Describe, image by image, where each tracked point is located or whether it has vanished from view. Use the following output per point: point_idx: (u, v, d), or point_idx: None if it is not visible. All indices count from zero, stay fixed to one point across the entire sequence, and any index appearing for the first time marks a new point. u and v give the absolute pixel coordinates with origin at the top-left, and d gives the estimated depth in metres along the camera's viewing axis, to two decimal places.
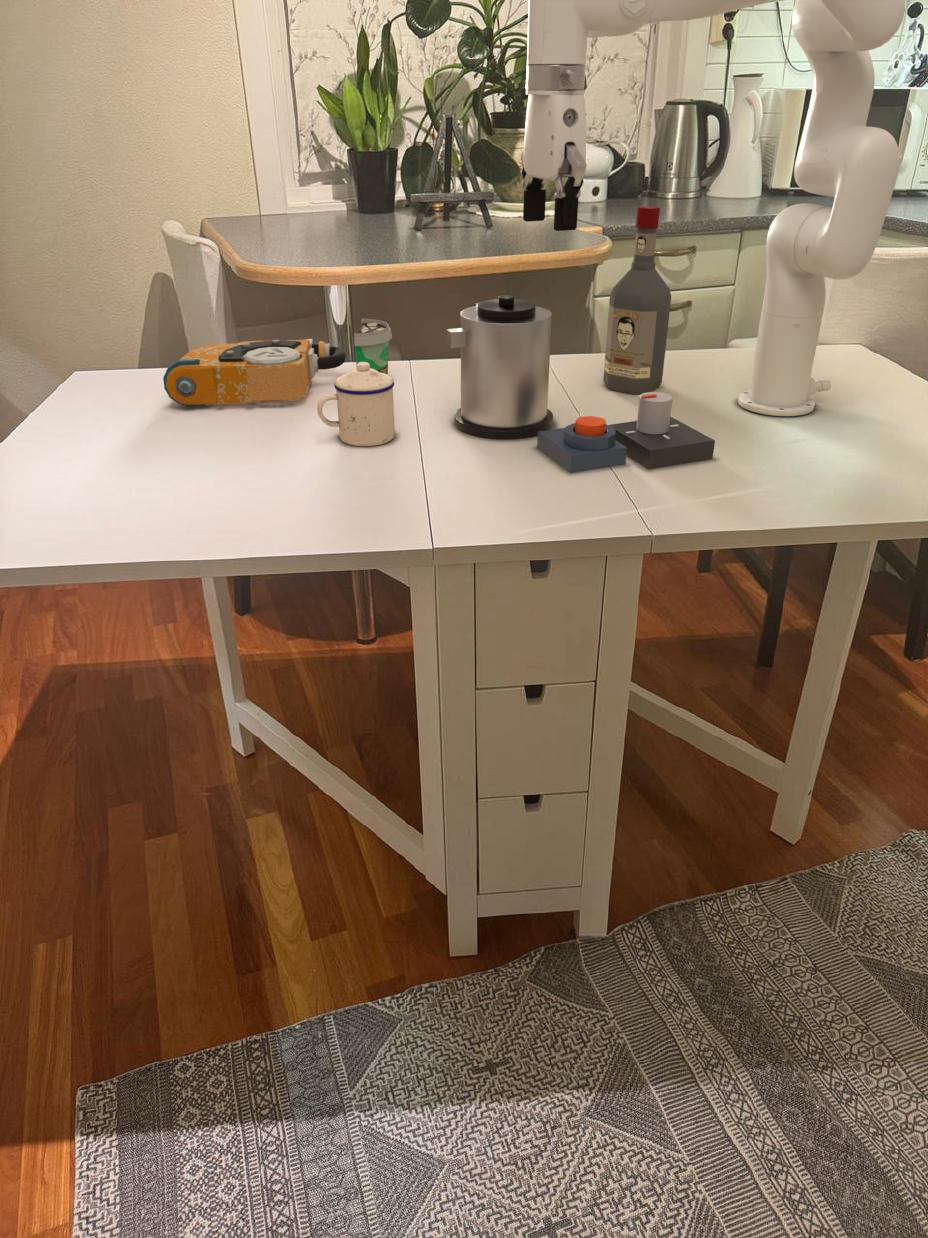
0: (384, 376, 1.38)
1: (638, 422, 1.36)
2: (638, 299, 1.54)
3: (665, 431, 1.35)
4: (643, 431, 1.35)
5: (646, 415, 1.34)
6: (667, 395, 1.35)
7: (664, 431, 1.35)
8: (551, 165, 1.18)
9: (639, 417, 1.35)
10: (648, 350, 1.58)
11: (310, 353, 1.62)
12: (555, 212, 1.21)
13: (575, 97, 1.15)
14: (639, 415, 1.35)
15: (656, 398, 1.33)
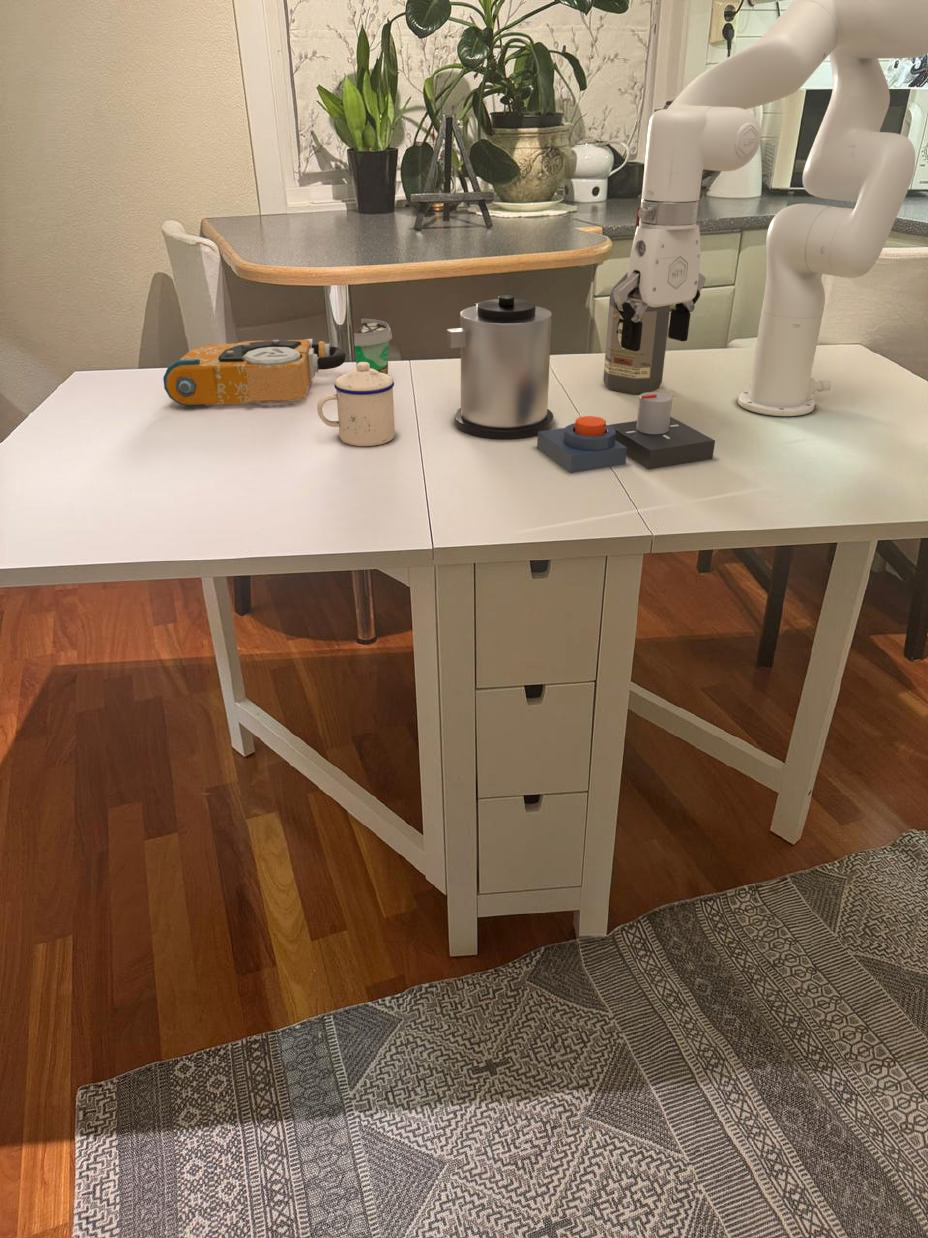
0: (384, 376, 1.38)
1: (638, 422, 1.36)
2: None
3: (665, 431, 1.35)
4: (643, 431, 1.35)
5: (646, 415, 1.34)
6: (667, 395, 1.35)
7: (664, 431, 1.35)
8: None
9: (639, 417, 1.35)
10: (648, 350, 1.58)
11: (310, 353, 1.62)
12: (623, 330, 1.28)
13: (647, 231, 1.20)
14: (639, 415, 1.35)
15: (656, 398, 1.33)
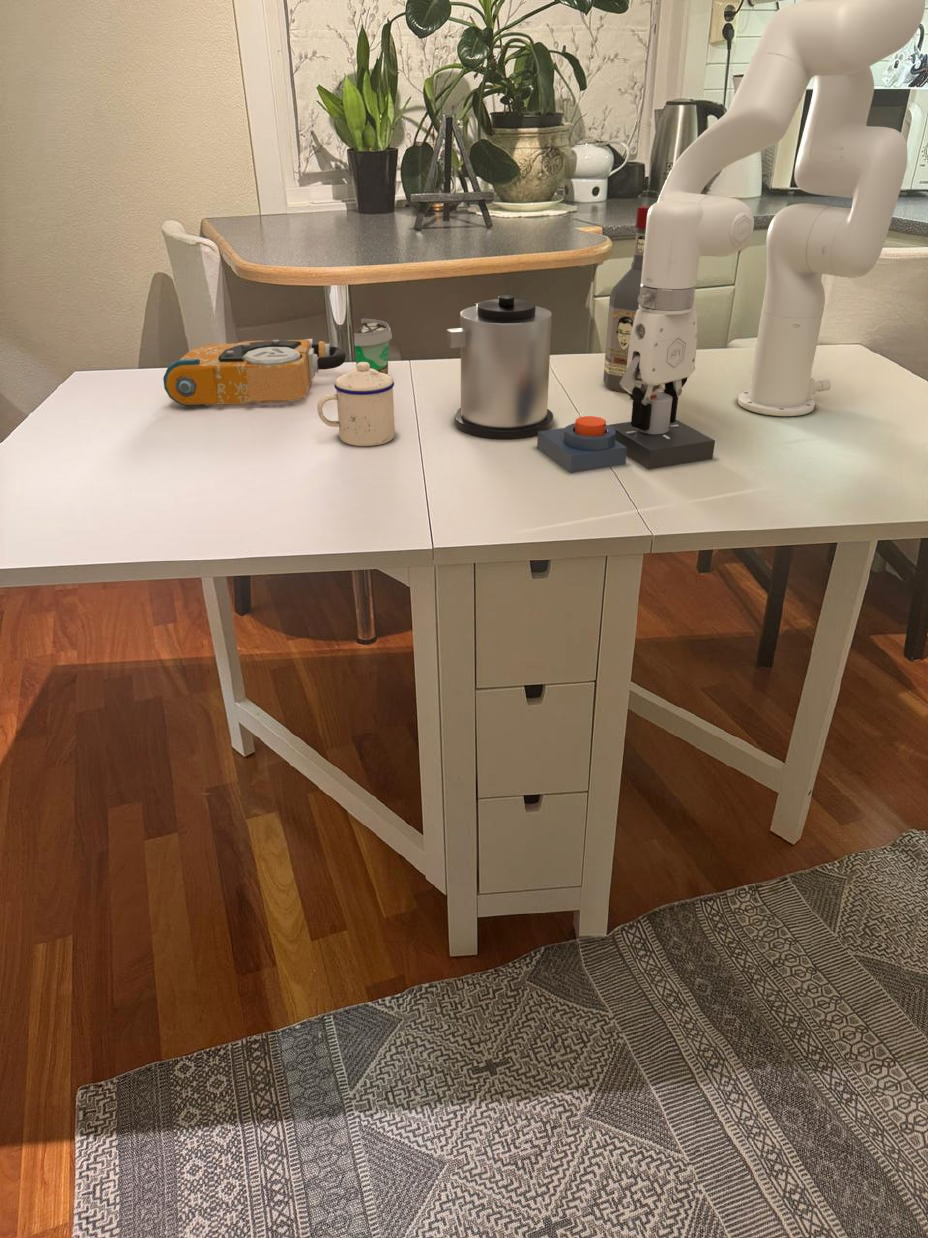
0: (384, 376, 1.38)
1: None
2: None
3: (665, 431, 1.35)
4: (643, 431, 1.35)
5: None
6: (667, 395, 1.35)
7: (664, 431, 1.35)
8: None
9: None
10: None
11: (310, 353, 1.62)
12: (633, 410, 1.35)
13: (646, 316, 1.25)
14: None
15: (656, 398, 1.33)
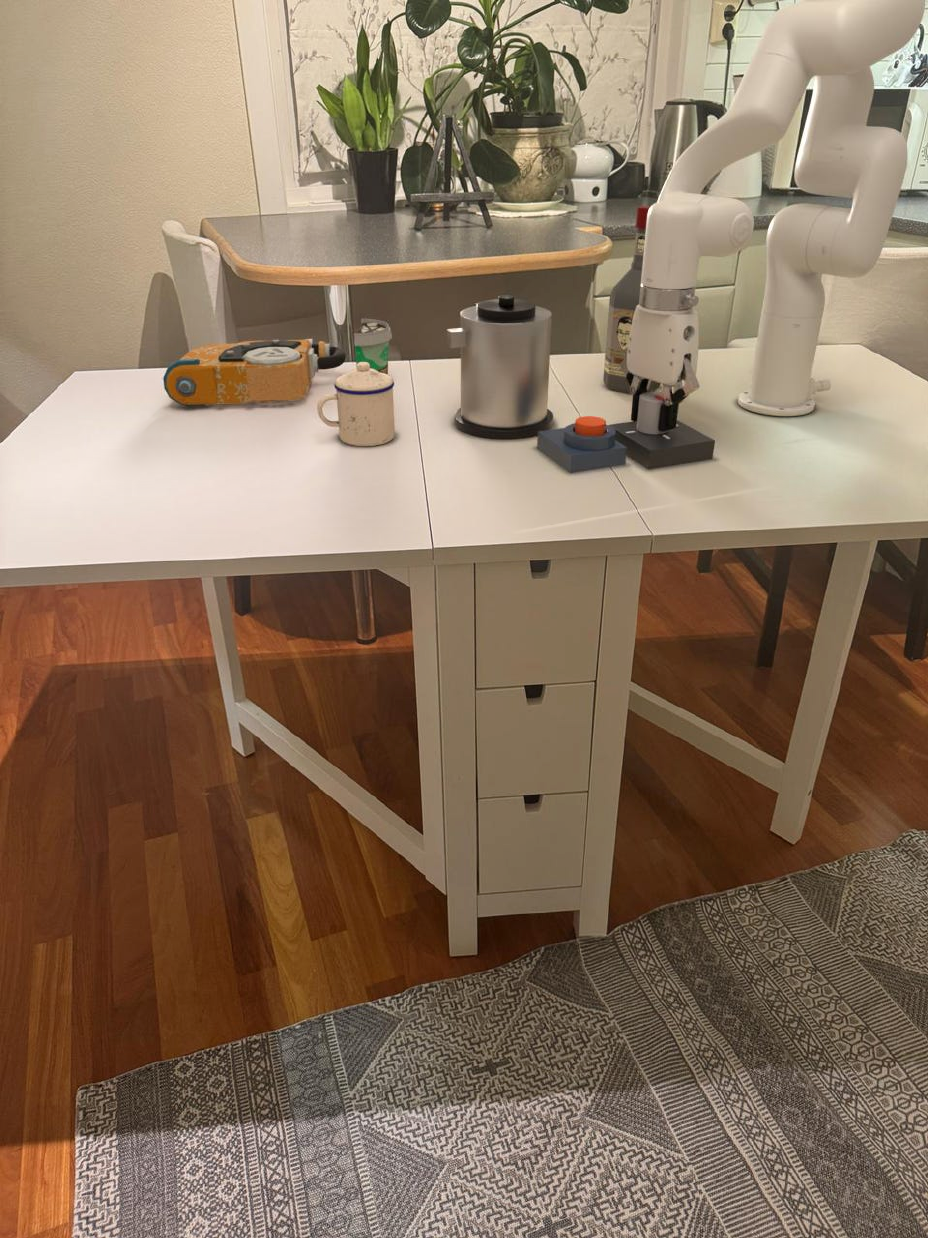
0: (384, 376, 1.38)
1: None
2: (638, 299, 1.54)
3: None
4: (666, 431, 1.35)
5: None
6: (650, 392, 1.36)
7: None
8: (670, 374, 1.28)
9: None
10: None
11: (310, 353, 1.62)
12: (661, 416, 1.33)
13: (693, 316, 1.25)
14: None
15: (663, 396, 1.34)
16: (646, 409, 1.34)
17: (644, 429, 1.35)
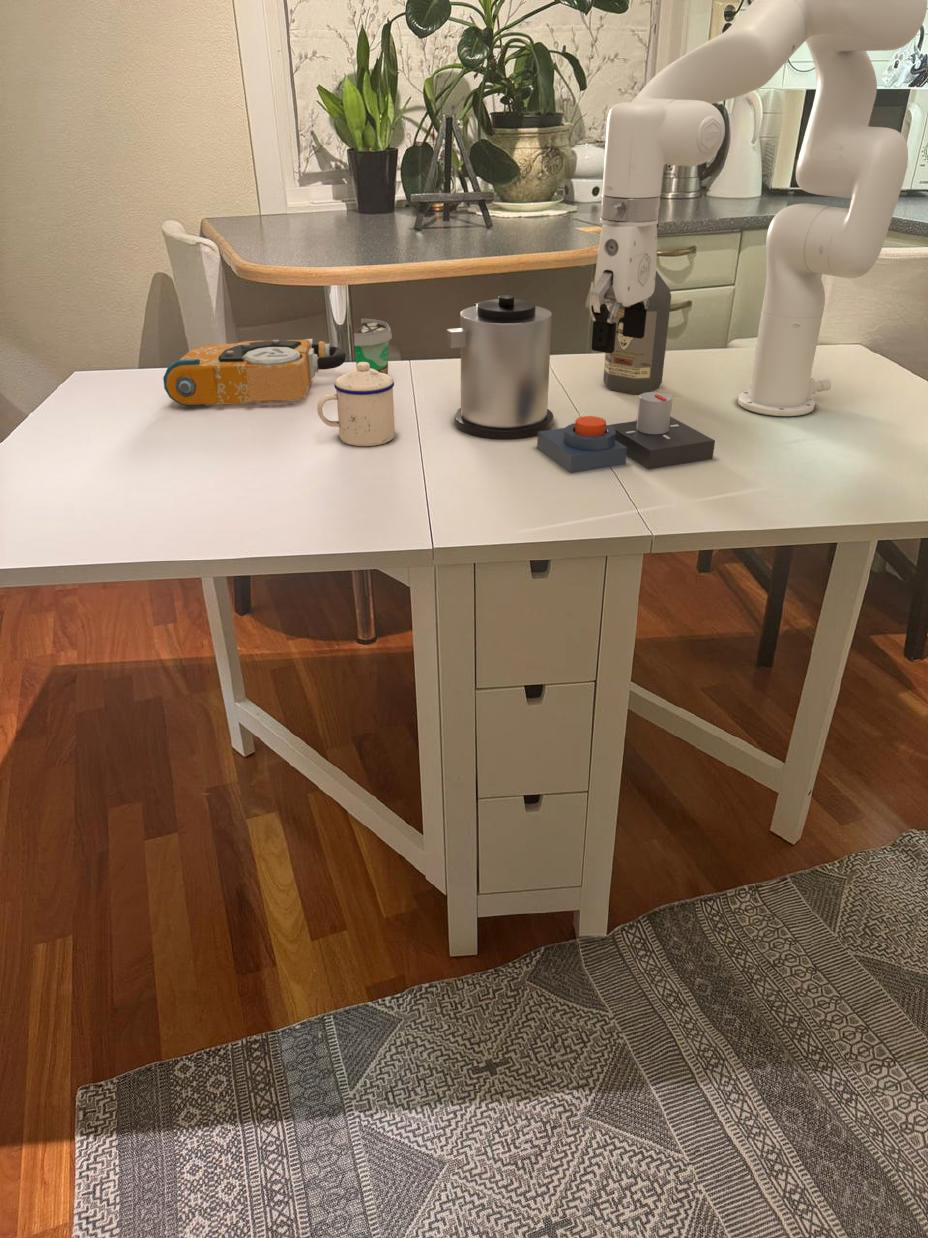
0: (384, 376, 1.38)
1: (659, 426, 1.34)
2: None
3: None
4: (666, 431, 1.35)
5: (668, 415, 1.34)
6: (650, 392, 1.36)
7: None
8: None
9: (661, 420, 1.34)
10: (648, 350, 1.58)
11: (310, 353, 1.62)
12: (593, 333, 1.24)
13: (618, 229, 1.16)
14: (661, 419, 1.34)
15: (663, 396, 1.34)
16: (646, 409, 1.34)
17: (644, 429, 1.35)
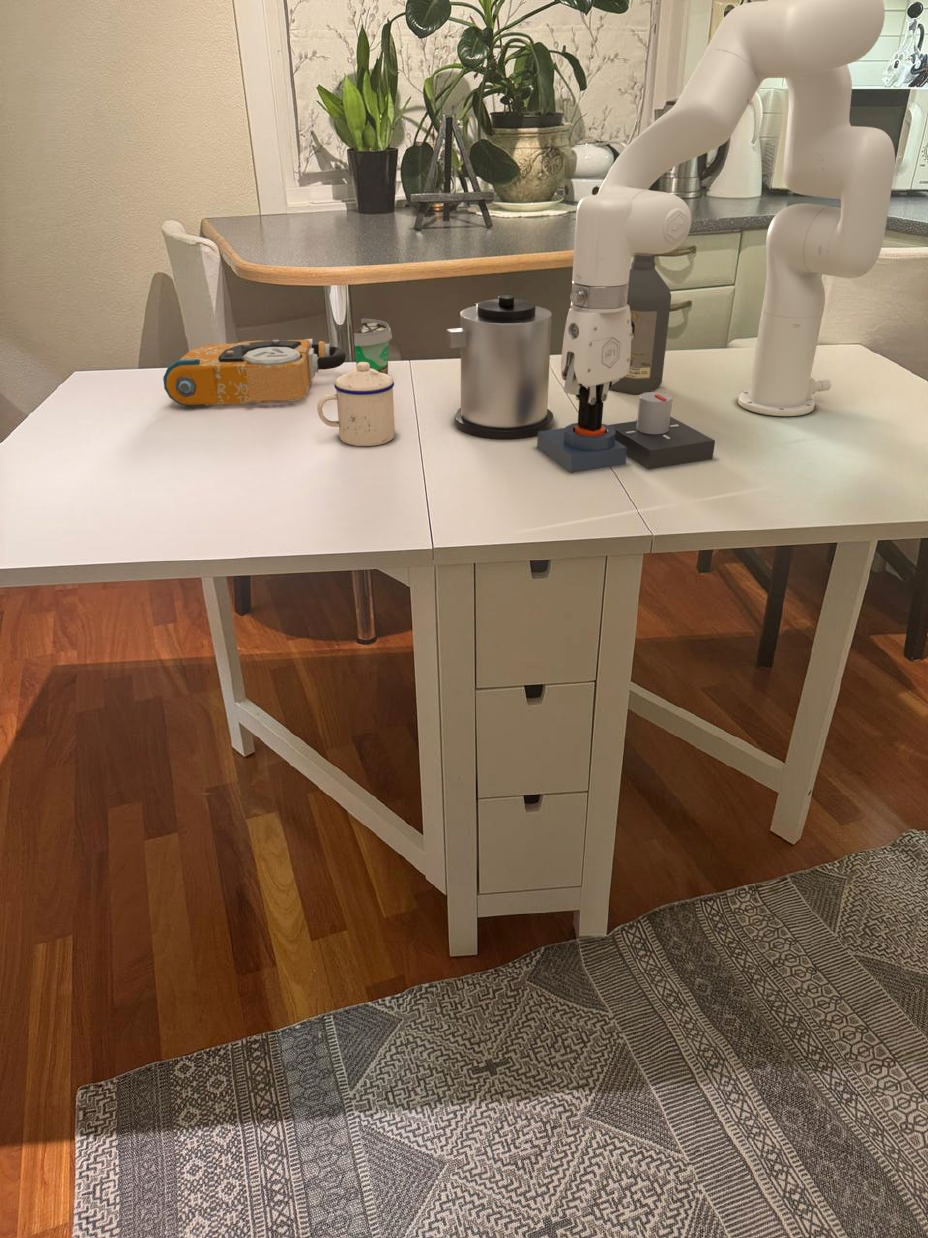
0: (384, 376, 1.38)
1: (659, 426, 1.34)
2: (638, 299, 1.54)
3: None
4: (666, 431, 1.35)
5: (668, 415, 1.34)
6: (650, 392, 1.36)
7: None
8: None
9: (661, 420, 1.34)
10: (648, 350, 1.58)
11: (310, 353, 1.62)
12: (579, 411, 1.32)
13: (579, 314, 1.21)
14: (661, 419, 1.34)
15: (663, 396, 1.34)
16: (646, 409, 1.34)
17: (644, 429, 1.35)
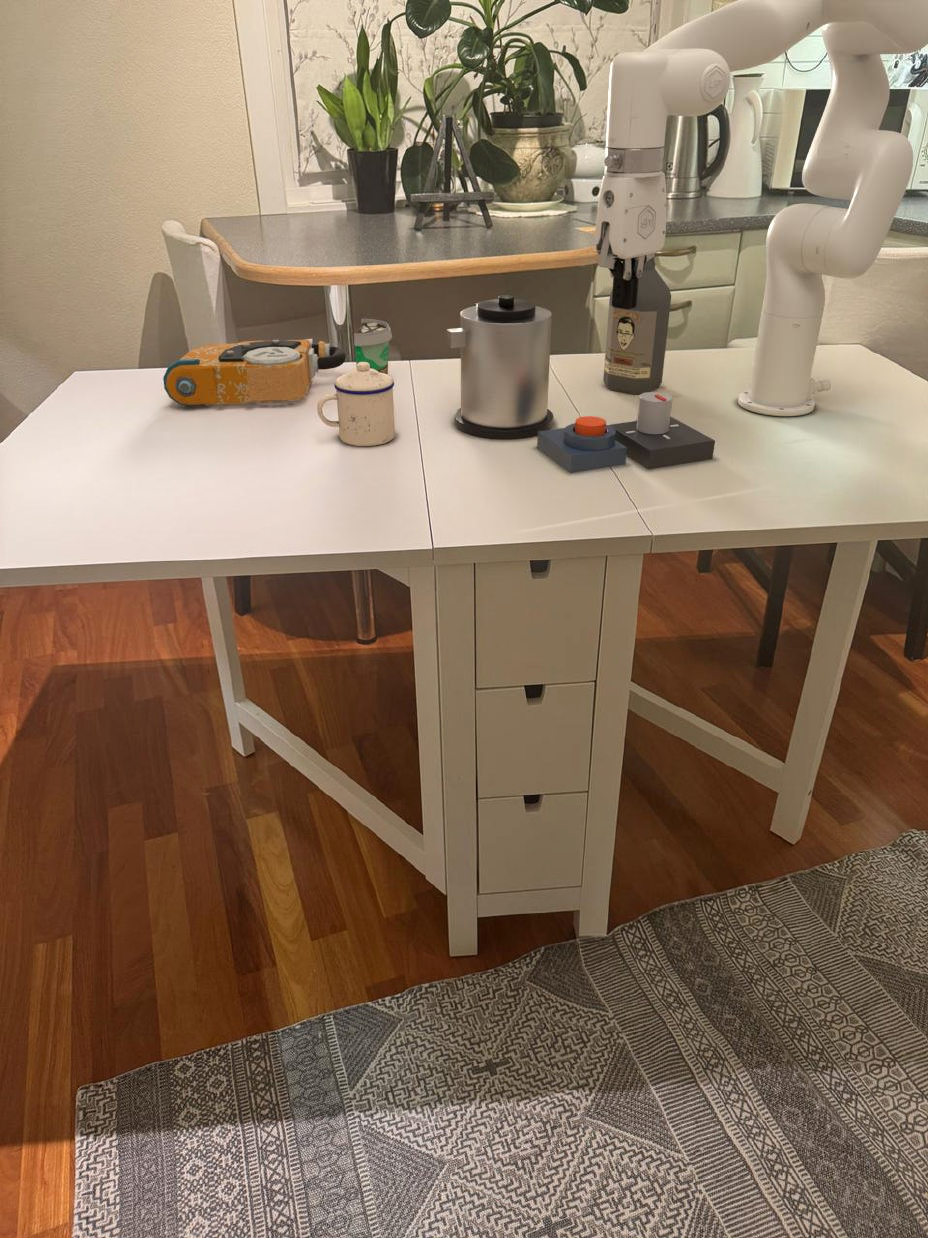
0: (384, 376, 1.38)
1: (659, 426, 1.34)
2: (638, 299, 1.54)
3: None
4: (666, 431, 1.35)
5: (668, 415, 1.34)
6: (650, 392, 1.36)
7: None
8: None
9: (661, 420, 1.34)
10: (648, 350, 1.58)
11: (310, 353, 1.62)
12: (613, 289, 1.28)
13: (614, 180, 1.17)
14: (661, 419, 1.34)
15: (663, 396, 1.34)
16: (646, 409, 1.34)
17: (644, 429, 1.35)
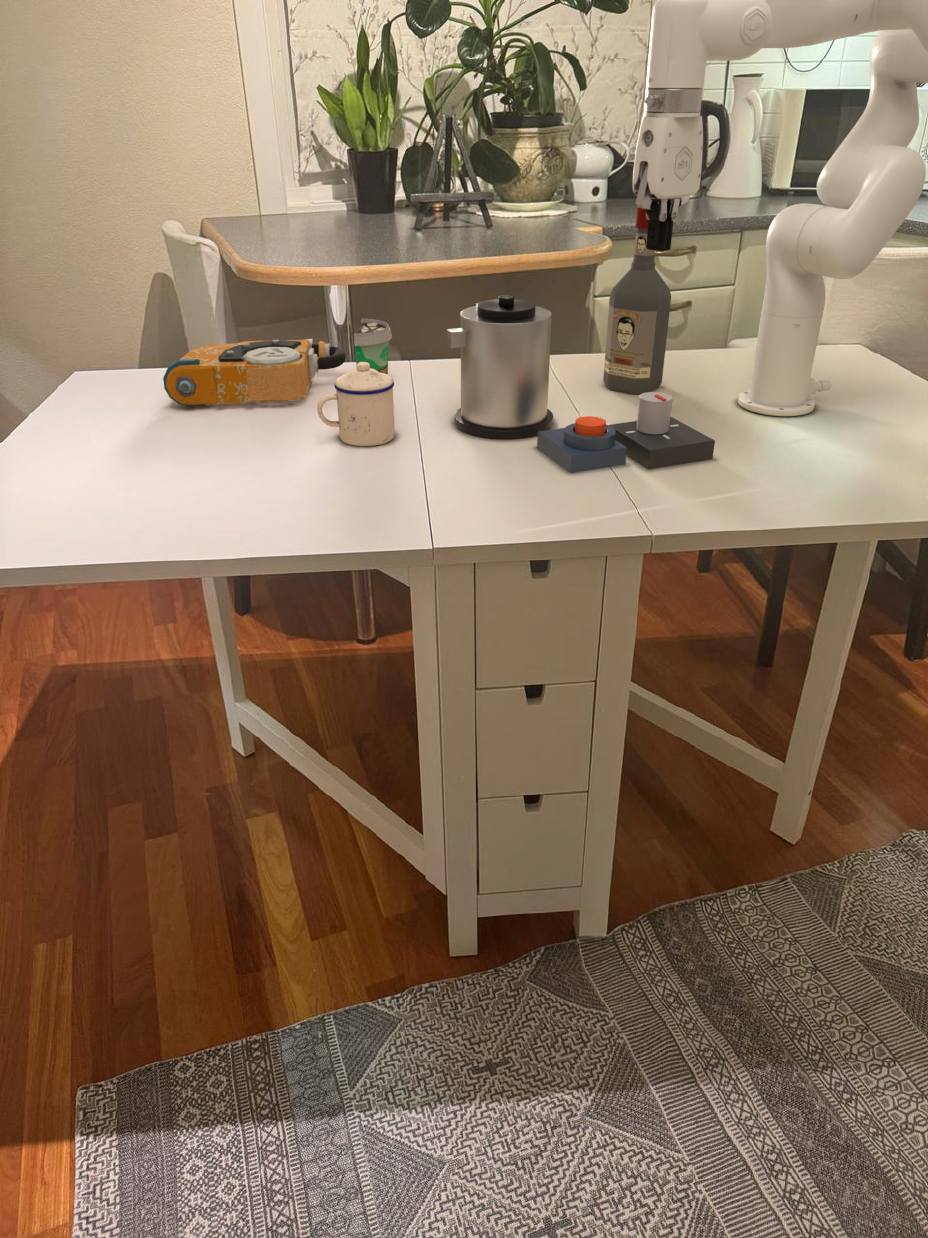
0: (384, 376, 1.38)
1: (659, 426, 1.34)
2: (638, 299, 1.54)
3: None
4: (666, 431, 1.35)
5: (668, 415, 1.34)
6: (650, 392, 1.36)
7: None
8: None
9: (661, 420, 1.34)
10: (648, 350, 1.58)
11: (310, 353, 1.62)
12: (648, 232, 1.31)
13: (654, 119, 1.20)
14: (661, 419, 1.34)
15: (663, 396, 1.34)
16: (646, 409, 1.34)
17: (644, 429, 1.35)
